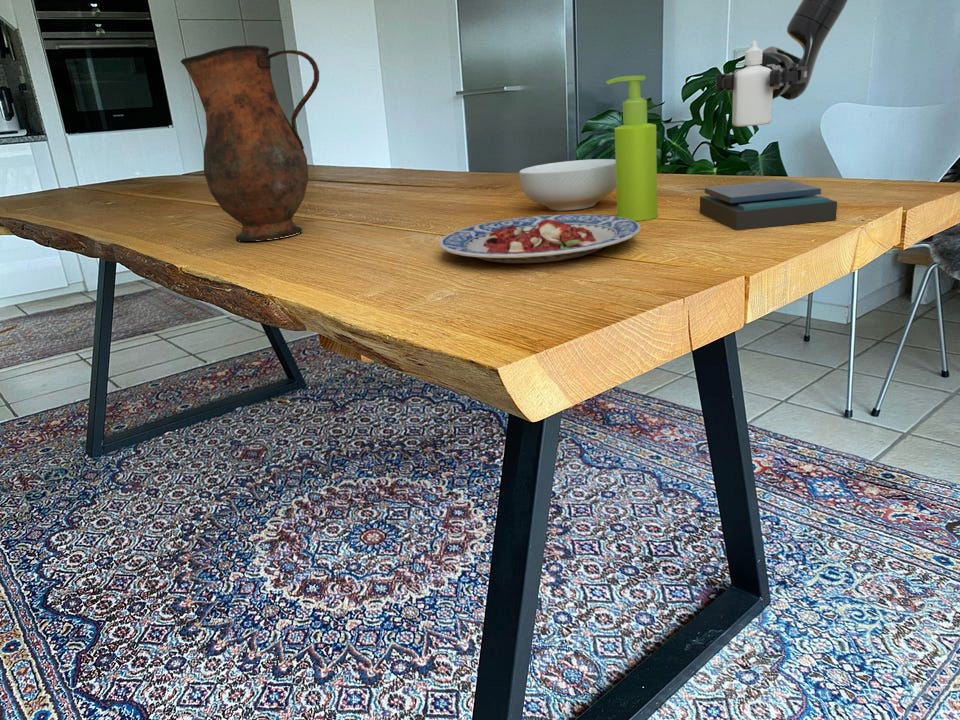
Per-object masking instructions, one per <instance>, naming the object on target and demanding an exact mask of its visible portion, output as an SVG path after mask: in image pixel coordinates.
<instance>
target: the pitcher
mask: <svg viewBox="0 0 960 720" xmlns="http://www.w3.org/2000/svg"><path fill="white" fill-rule="evenodd" d="M269 52H270V48H269V47H268V46H266V45H255V44H250V45H249V44H244V45H233V46H232V45H231V46H227V47H226V46H225V47H223V48H222V47H221V48H217V49H213V50H209V51H207V52H203V53H200V54H197V55H193V56H188V57H183V58H182V59H181V60H180V63H181V65H183V66H184V68H185V70H186V71H187V73H188V75H189V76H190V79H191V80H192V82H193V84H194V86H195V88H196V89H195V90H196V91H197V93H198V97H199V99H200V102H201V104H202V107H203V110H204V113H205V123H206V124H205V125H206V135H205V141H204V146H203V152H202V153H203V175H204V178H205V181H206V183H207V187H208V189H209V190H208V191H209V193H210V194H211V196H212V197H213V198H214V200H215V201H216V203H217V204H218V206H219V207H220V208H221V210H222V211H224V212H225V213H226V214H228V215H229V216H230V217H231V218H232V219H233V220H235V221H236V222H237V223H239V224H241V225H242V229H241V232H240V233H238V234H237V235H236V237H235V239H237V240H240V241H256V240H267V239H274V238H280V237H285V236H289V235H293V234H296V233H299V232H301V231H302V230H303V228H302V227H301V226H298V225H295V223H294V222H293V217H294V216H295V214H296V213H297V211H298V209H299V208H300V206H301V204H302V202H303V200H304V198H305V195H306V190H307V186H308V182H309V169H308V168H309V167H308V157H307V155H306V153H305V150H304V149H305V147H304V145H303V141H302V139H301V137H300V135H299V133H298V130H297V128H296V120H297V117H298V116H299V114H300V111H301V110H302V109H303V108H304V106H305V105H306V104H307V102H308V101H309V99H310V98H311V97H312V95H313V94H314V92H315V91H316V89H317V88H318V84H319V83H320V70H319V67H318V64H317V62H316V61H315V59H314V58H313V57H312V56H310V55H309V54H308V53H307V52H303V51H301V50H295V49H289V50H287V49H286V50H284V49H283V50H279V51H275V52H272V53H269ZM285 54H286V55H287V54H291V55H292V54H293V55H297V56H301V57H303V58H304V59H306V60H307V61H308V62H309V64H310V65H311V67H312V70H313V80H312V83H311V85H310V87H309V88H308V90H307V92H306V93H305V94H304V96H303V97H302V99H300V100H299V103H297V105H296V107H295V108H294V110H293V113H292V116H291V122H290V121H289V119H288V117H287V115H286V113H285V111H284V110H283V108H282V106H281V104H280V103H279V99H278V97H277V93H276V89H275V85H274V83H273V77H272V72H271V68H272V65H271V59H273V58H274V57H277V56H280V55H285ZM302 232H303V231H302ZM302 232H301V233H302ZM237 240H236V241H237ZM240 241H239V242H240Z"/></svg>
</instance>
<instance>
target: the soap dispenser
mask: <svg viewBox="0 0 960 720" xmlns="http://www.w3.org/2000/svg"><path fill="white" fill-rule="evenodd" d="M646 77H647V76H646V75H624V76H618V77H614V78H612V79H611V78H610V79H608V80H607V81H605V83H606V85H613V84H617V83H621V82H627V83H628V84H627V86H628V87H627V88H628V89H627V90H628V98H626V99H625V101H622V125H619V126H617V127H615V128H614V152H615V153H614V155H615V158H614V159H615V160H616V188H615V190H616V217H621V218H627V219H630V220H633V221H635V222H640V221H649V220H653V219H656V218H658V167H657V166H658V165H657V164H658V159H657V157H658V155H657V154H658V153H657V150H658V149H657V147H658V146H657V124H656V123H655V124H654V123H650V122H649V123H648V100H647V99H645V98H644V97H642V96H641V95H642V91H641V90H642V89H641V88H642V87H641V86H642V85H641V81H646V80H647V79H646Z"/></svg>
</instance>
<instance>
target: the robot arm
mask: <svg viewBox="0 0 960 720" xmlns="http://www.w3.org/2000/svg"><path fill="white" fill-rule="evenodd" d="M847 3H848V0H801V2H800V4H799V5H798V7H797V8H796V10H795V12H794V13H793V15H792V17H791V19H790V21H789V22H788V23H787V26H786V32H787V34H788V35H789V37H790V38H791V39H793V40H794V41H795V42H797V43H798V44H799V45H800V46H801V48H802V50H803V53H802V57H798V56H796V55H794V54H793V53H790V52H788V51H786V50H783V49H782V48H780V47H777V46H773V45H772V46H768V47H766V48H765V49H764V50H762V64H760V65H761V66H763V67H767V68H769V69H771V70H772V71H770V87H773V98H772V100H774V99H777V98H778V97H780V98H783V99H785V100H787V101H792V100H795V99H797V98H798V97H801V96H802V95H803V94H804V92H805V91H806V90H807V88H808V87H809V84H810V81H811V79H812V75H813V72H814V68H815V65H816V62H817V58H818V56H819V54H820V51H821V49H822V47H823V44H824V42H825V41H826V39H827V37H828V35H829V33H830V32H831V30H832V29H833V27H834V26H835V24H836V22H837V20H838V19H839V17H840V16H841V14H842V12H843V11H844V9H845V7H846V5H847ZM745 67H747V65H745V64H744V65H743V66H742V68H738V69H735V70H734V71H733V72H729V73H722V72H720V73H718V74H715V92H717V93H722V92H724V91H726V92H733V78H734V75H735V73H736V72H738V71H739V70H741V69H744V68H745Z"/></svg>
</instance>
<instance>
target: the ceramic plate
mask: <svg viewBox="0 0 960 720" xmlns="http://www.w3.org/2000/svg"><path fill="white" fill-rule="evenodd" d="M640 231H641V225H640V223H638V221H633V220H630V219H627V218H621V217H617V215H605V214H586V213H585V214H583V213H582V214H578V213H577V214H576V213H575V214H573V213H572V214H568V213H567V214H549V215H547V214H546V215H545V214H544V215H536V216H526V217H525V216H524V217H514V218H508V219H502V220H496V221H489V222H485V223H484V222H483V223H480V224H475V225H472V226H469V227H464V228H461V229H458V230H455V231H453V232H450V233H448V234H446V235H445V236H443V237H442V238H441V239H440V240H439V241H438V245H439V247H440V248H441V249H442V250H443V251H445V252H447V253H450V254H454V255H458V256H463V257H472V258H476V259H479V260H483V261H486V262H491V263H501V264H540V263H541V264H542V263H550V262H560V261H565V260H569V259H575V258H580V257H584V256H587V255H590V254H593V253H595V252H598V251H599V250H602V249H603V248H606V247H609V246H614V245H616V244H619V243H622V242H625V241H628V240H630V239H632V238H633V237H635V236H636V235H638V234H639V233H640Z"/></svg>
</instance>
